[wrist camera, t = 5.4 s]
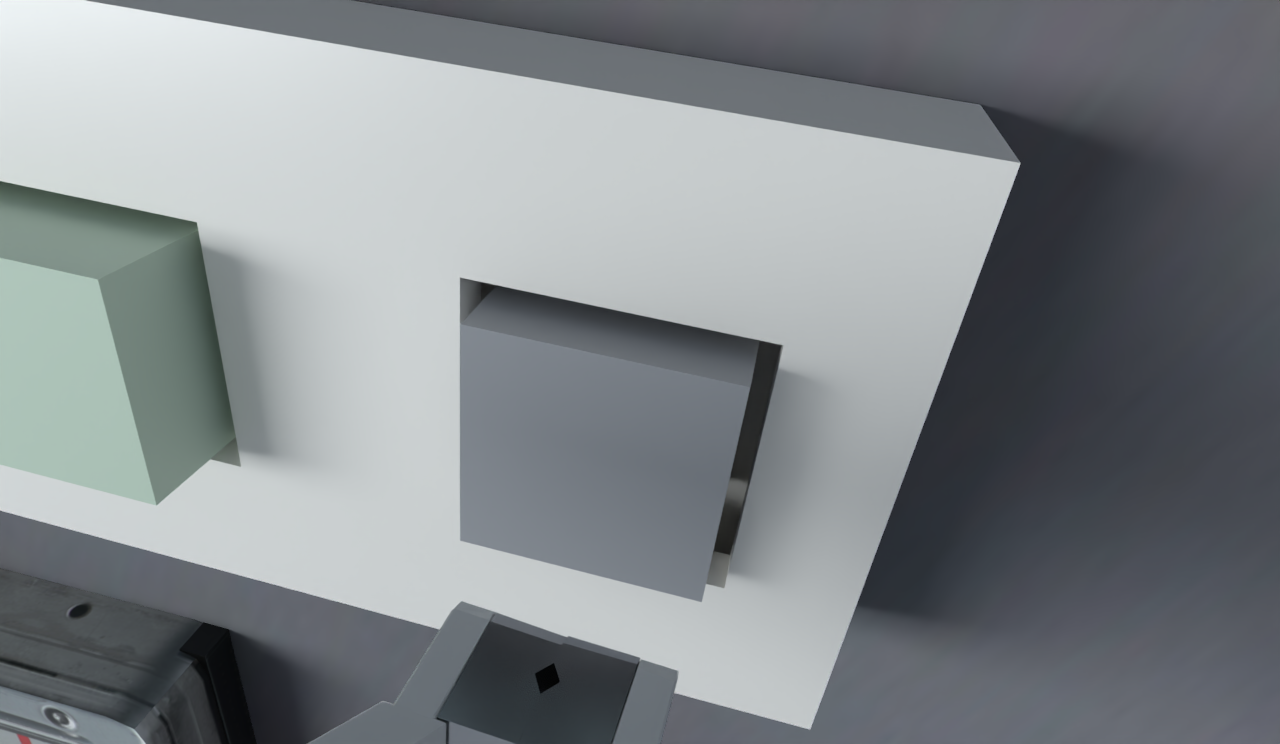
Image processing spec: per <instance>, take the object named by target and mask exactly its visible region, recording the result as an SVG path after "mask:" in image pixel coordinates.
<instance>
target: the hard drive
mask: <svg viewBox="0 0 1280 744" xmlns="http://www.w3.org/2000/svg"><path fill="white" fill-rule="evenodd" d="M184 671H185V672H184ZM183 672H184V673H183ZM177 679H178V680H177ZM170 687H171V688H170ZM164 694H165V695H164ZM157 702H158V703H157ZM150 710H151V711H150ZM144 717H145V718H144ZM137 725H138V726H137ZM128 726H129V727H128ZM0 744H257V743H256V739H255V735H254V731H253V727H252V723H251V719H250V715H249V711H248V707H247V703H246V699H245V695H244V691H243V687H242V683H241V679H240V675H239V671H238V667H237V663H236V659H235V654H234V650H233V646H232V642H231V638H230V634H229V630H228V629H226V628H222V627H218V626H214V625H211V624H207V623H201V622H198V621H196V620H193V619H189V618H186V617H182V616H178V615H174V614H170V613H167V612H163V611H159V610H155V609H152V608H148V607H144V606H140V605H137V604H133V603H129V602H125V601H122V600H118V599H114V598H110V597H107V596H103V595H99V594H95V593H92V592H88V591H84V590H80V589H77V588H73V587H69V586H65V585H61V584H58V583H54V582H50V581H46V580H43V579H39V578H35V577H31V576H28V575H24V574H20V573H16V572H13V571H9V570H5V569H1V568H0Z"/></svg>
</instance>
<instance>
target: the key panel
mask: <svg viewBox="0 0 1280 744" xmlns="http://www.w3.org/2000/svg"><path fill="white" fill-rule="evenodd" d="M1020 164H1021V163H1020V161H1019V160H1018V158H1017V157H1016V155H1015V154H1014V153H1013V151H1012V150H1011V148H1010V147H1009V145H1008V144H1007V142H1006V141H1005V140H1004V138H1003V137H1002V135H1001V134H1000V132H999V131H998V129H997V128H996V127H995V125H994V124H993V122H992V121H991V119H990V118H989V116H988V115H987V114H986V112H985V111H984V109H983V108H982V106H981V105H979V104H973V103H967V102H961V101H955V100H949V99H943V98H937V97H931V96H925V95H919V94H913V93H907V92H901V91H895V90H889V89H883V88H877V87H871V86H865V85H859V84H853V83H847V82H841V81H835V80H829V79H823V78H817V77H811V76H805V75H799V74H793V73H786V72H780V71H774V70H768V69H762V68H756V67H750V66H744V65H738V64H732V63H726V62H720V61H714V60H708V59H702V58H696V57H690V56H684V55H678V54H672V53H666V52H660V51H654V50H648V49H642V48H636V47H630V46H624V45H618V44H612V43H606V42H600V41H594V40H588V39H582V38H576V37H570V36H564V35H557V34H551V33H545V32H539V31H533V30H527V29H521V28H515V27H509V26H503V25H497V24H491V23H485V22H479V21H473V20H467V19H461V18H455V17H449V16H443V15H437V14H431V13H425V12H419V11H413V10H407V9H401V8H395V7H389V6H383V5H377V4H371V3H365V2H359V1H353V0H0V181H3V182H7V183H12V184H17V185H22V186H26V187H31V188H36V189H41V190H45V191H50V192H55V193H60V194H64V195H69V196H74V197H79V198H84V199H88V200H93V201H98V202H103V203H107V204H112V205H117V206H122V207H126V208H131V209H136V210H141V211H145V212H150V213H155V214H160V215H165V216H169V217H174V218H179V219H184V220H188V221H193V222H197V226H198V231H199V237H200V242H201V248H202V253H203V259H204V264H205V270H206V275H207V281H208V286H209V292H210V297H211V303H212V308H213V314H214V319H215V325H216V330H217V336H218V341H219V347H220V352H221V358H222V363H223V369H224V374H225V380H226V385H227V391H228V396H229V402H230V407H231V413H232V418H233V424H234V429H235V435H236V437H235V438H234V439H233V440H232V441H231V442H230V443H228V444H227V445H226V446H225V447H224V448H223V449H222V450H220V451H219V452H218V453H217V454H216V455H215V456H213V457H212V458H211V459H210V460H209V461H208V462H206V463H205V464H204V465H203V466H202V467H201V468H200V469H198V470H197V471H196V472H195V473H194V474H193V475H191V476H190V477H189V478H188V479H187V480H186V481H184V482H183V483H182V484H181V485H180V486H179V487H178V488H176V489H175V490H174V491H173V492H172V493H171V494H169V495H168V496H167V497H166V498H165V499H164V500H162V501H161V502H160V503H159V504H158V505H157V506H156V505H152V504H149V503H145V502H141V501H137V500H133V499H130V498H126V497H122V496H118V495H114V494H110V493H107V492H103V491H99V490H95V489H91V488H88V487H84V486H80V485H76V484H72V483H68V482H65V481H61V480H57V479H53V478H49V477H46V476H42V475H38V474H34V473H30V472H27V471H23V470H19V469H15V468H11V467H7V466H4V465H0V511H4V512H8V513H11V514H15V515H19V516H23V517H26V518H30V519H34V520H37V521H41V522H45V523H48V524H52V525H56V526H59V527H63V528H67V529H71V530H74V531H78V532H82V533H85V534H89V535H93V536H96V537H100V538H104V539H108V540H111V541H115V542H119V543H122V544H126V545H130V546H133V547H137V548H141V549H145V550H148V551H152V552H156V553H159V554H163V555H167V556H170V557H174V558H178V559H182V560H185V561H189V562H193V563H196V564H200V565H204V566H207V567H211V568H215V569H218V570H222V571H226V572H230V573H233V574H237V575H241V576H244V577H248V578H252V579H255V580H259V581H263V582H267V583H270V584H274V585H278V586H281V587H285V588H289V589H292V590H296V591H300V592H304V593H307V594H311V595H315V596H318V597H322V598H326V599H329V600H333V601H337V602H341V603H344V604H348V605H352V606H355V607H359V608H363V609H366V610H370V611H374V612H378V613H381V614H385V615H389V616H392V617H396V618H400V619H403V620H407V621H411V622H414V623H418V624H422V625H426V626H429V627H433V628H437V629H440V628H441V627H442V625H443V623H444V622H445V620H446V618H447V617H448V615H449V614H450V612H451V610H452V609H454V608H455V607H456V606H457V605H458V604H459V603H460V602H461V601H463V602H466V603H469V604H472V605H475V606H478V607H481V608H484V609H487V610H491V611H494V612H497V613H499V614H502V615H505V616H508V617H511V618H513V619H516V620H519V621H522V622H525V623H528V624H531V625H534V626H536V627H539V628H542V629H545V630H548V631H551V632H554V633H557V634H560V635H562V636H565V637H568V636H570V637H574V638H577V639H580V640H583V641H587V642H590V643H593V644H597V645H600V646H603V647H607V648H610V649H613V650H616V651H620V652H623V653H626V654H630V655H633V656H636V657H639V658H641V659H642V660H645V661H648V662H652V663H655V664H658V665H661V666H665V667H668V668H671V669H674V670H678V671H679V674H678V680H677V684H676V688H675V691H674V693H677V694H681V695H684V696H688V697H692V698H696V699H699V700H703V701H707V702H710V703H714V704H718V705H721V706H725V707H729V708H733V709H736V710H740V711H744V712H747V713H751V714H755V715H758V716H762V717H766V718H769V719H773V720H777V721H781V722H784V723H788V724H792V725H795V726H799V727H803V728H806V729H811V726H812V723H813V721H814V718H815V715H816V712H817V710H818V707H819V704H820V702H821V699H822V696H823V694H824V691H825V688H826V686H827V683H828V680H829V678H830V675H831V672H832V669H833V667H834V664H835V661H836V659H837V656H838V653H839V651H840V648H841V645H842V643H843V640H844V637H845V634H846V632H847V629H848V626H849V624H850V621H851V618H852V616H853V613H854V610H855V608H856V605H857V602H858V600H859V597H860V594H861V591H862V589H863V586H864V583H865V581H866V578H867V575H868V573H869V570H870V567H871V565H872V562H873V559H874V556H875V554H876V551H877V548H878V546H879V543H880V540H881V538H882V535H883V532H884V530H885V527H886V524H887V522H888V519H889V516H890V513H891V511H892V508H893V505H894V503H895V500H896V497H897V495H898V492H899V489H900V487H901V484H902V481H903V478H904V476H905V473H906V470H907V468H908V465H909V462H910V460H911V457H912V454H913V452H914V449H915V446H916V444H917V441H918V438H919V435H920V433H921V430H922V427H923V425H924V422H925V419H926V417H927V414H928V411H929V409H930V406H931V403H932V400H933V398H934V395H935V392H936V390H937V387H938V384H939V382H940V379H941V376H942V374H943V371H944V368H945V366H946V363H947V360H948V357H949V355H950V352H951V349H952V347H953V344H954V341H955V339H956V336H957V333H958V331H959V328H960V325H961V322H962V320H963V317H964V314H965V312H966V309H967V306H968V304H969V301H970V298H971V296H972V293H973V290H974V288H975V285H976V282H977V279H978V277H979V274H980V271H981V269H982V266H983V263H984V261H985V258H986V255H987V253H988V250H989V247H990V244H991V242H992V239H993V236H994V234H995V231H996V228H997V226H998V223H999V220H1000V218H1001V215H1002V212H1003V210H1004V207H1005V204H1006V201H1007V199H1008V196H1009V193H1010V191H1011V188H1012V185H1013V183H1014V180H1015V177H1016V175H1017V172H1018V169H1019V166H1020ZM496 285H498V286H503V287H508V288H512V289H517V290H522V291H527V292H531V293H536V294H541V295H546V296H550V297H555V298H560V299H565V300H570V301H574V302H579V303H584V304H589V305H593V306H598V307H603V308H608V309H612V310H617V311H622V312H627V313H632V314H636V315H641V316H646V317H651V318H655V319H660V320H665V321H670V322H674V323H679V324H684V325H689V326H693V327H698V328H703V329H708V330H713V331H717V332H722V333H727V334H732V335H736V336H741V337H746V338H751V339H755V340H760V342H759V347H758V352H757V357H756V362H755V367H754V372H753V377H752V382H751V387H750V391H749V396H748V400H747V404H746V409H745V413H744V418H743V422H742V426H741V431H740V435H739V440H738V444H737V449H736V453H735V457H734V462H733V466H732V471H731V475H730V480H729V484H728V488H727V493H726V497H725V502H724V506H723V510H722V515H721V519H720V524H719V528H718V533H717V537H716V541H715V546H714V550H713V555H712V559H711V564H710V568H709V572H708V577H707V581H706V586H705V590H704V594H703V599H702V602H699V601H695V600H691V599H687V598H683V597H679V596H675V595H671V594H668V593H664V592H660V591H656V590H652V589H648V588H644V587H640V586H636V585H632V584H628V583H624V582H620V581H616V580H613V579H609V578H605V577H601V576H597V575H593V574H589V573H585V572H581V571H577V570H573V569H569V568H565V567H561V566H558V565H554V564H550V563H546V562H542V561H538V560H534V559H530V558H526V557H522V556H518V555H514V554H510V553H506V552H503V551H499V550H495V549H491V548H487V547H483V546H479V545H475V544H471V543H467V542H463V541H460V324H461V323H462V322H463V321H464V320H465V319H466V317H467V316H468V315H469V314H470V313H471V312H472V311H473V310H474V309H475V308H476V307H477V306H478V305H479V304H480V302H481V301H482V300H483V299H484V298H485V297H486V296H487V295H488V294H489V293H490V292H491V291H492V290H493V288H494V287H495V286H496ZM641 659H640V661H641Z"/></svg>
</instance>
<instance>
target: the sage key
mask: <svg viewBox="0 0 1280 744" xmlns="http://www.w3.org/2000/svg"><path fill="white" fill-rule="evenodd" d="M235 437H236V435H235V429H234V424H233V418H232V413H231V407H230V402H229V396H228V391H227V385H226V380H225V374H224V369H223V363H222V358H221V352H220V347H219V341H218V336H217V330H216V325H215V319H214V314H213V308H212V303H211V297H210V292H209V286H208V281H207V275H206V270H205V264H204V259H203V253H202V248H201V242H200V237H199V231H198V226H197V222H193V221H188V220H184V219H179V218H174V217H169V216H165V215H160V214H155V213H150V212H145V211H141V210H136V209H131V208H126V207H122V206H117V205H112V204H107V203H103V202H98V201H93V200H88V199H84V198H79V197H74V196H69V195H64V194H60V193H55V192H50V191H45V190H41V189H36V188H31V187H26V186H22V185H17V184H12V183H7V182H3V181H0V465H4V466H7V467H11V468H15V469H19V470H23V471H27V472H30V473H34V474H38V475H42V476H46V477H49V478H53V479H57V480H61V481H65V482H68V483H72V484H76V485H80V486H84V487H88V488H91V489H95V490H99V491H103V492H107V493H110V494H114V495H118V496H122V497H126V498H130V499H133V500H137V501H141V502H145V503H149V504H152V505H156V506H157V505H158V504H159V503H160V502H161V501H162V500H164V499H165V498H166V497H167V496H168V495H169V494H171V493H172V492H173V491H174V490H175V489H176V488H178V487H179V486H180V485H181V484H182V483H183V482H184V481H186V480H187V479H188V478H189V477H190V476H191V475H193V474H194V473H195V472H196V471H197V470H198V469H200V468H201V467H202V466H203V465H204V464H205V463H206V462H208V461H209V460H210V459H211V458H212V457H213V456H215V455H216V454H217V453H218V452H219V451H220V450H222V449H223V448H224V447H225V446H226V445H227V444H228V443H230V442H231V441H232V440H233V439H234V438H235Z"/></svg>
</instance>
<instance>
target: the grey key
mask: <svg viewBox="0 0 1280 744" xmlns="http://www.w3.org/2000/svg"><path fill="white" fill-rule="evenodd" d="M759 342H760V340H755V339H751V338H746V337H741V336H736V335H732V334H727V333H722V332H717V331H713V330H708V329H703V328H698V327H693V326H689V325H684V324H679V323H674V322H670V321H665V320H660V319H655V318H651V317H646V316H641V315H636V314H632V313H627V312H622V311H617V310H612V309H608V308H603V307H598V306H593V305H589V304H584V303H579V302H574V301H570V300H565V299H560V298H555V297H550V296H546V295H541V294H536V293H531V292H527V291H522V290H517V289H512V288H508V287H503V286H498V285H496V286H495V287H494V288H493V290H492V291H491V292H490V293H489V294H488V295H487V296H486V297H485V298H484V299H483V300H482V301H481V302H480V304H479V305H478V306H477V307H476V308H475V309H474V310H473V311H472V312H471V313H470V314H469V315H468V316H467V317H466V319H465V320H464V321H463V322H462V323H461V324H460V541H463V542H467V543H471V544H475V545H479V546H483V547H487V548H491V549H495V550H499V551H503V552H506V553H510V554H514V555H518V556H522V557H526V558H530V559H534V560H538V561H542V562H546V563H550V564H554V565H558V566H561V567H565V568H569V569H573V570H577V571H581V572H585V573H589V574H593V575H597V576H601V577H605V578H609V579H613V580H616V581H620V582H624V583H628V584H632V585H636V586H640V587H644V588H648V589H652V590H656V591H660V592H664V593H668V594H671V595H675V596H679V597H683V598H687V599H691V600H695V601H699V602H702V599H703V594H704V590H705V586H706V581H707V577H708V572H709V568H710V564H711V559H712V555H713V550H714V546H715V541H716V537H717V533H718V528H719V524H720V519H721V515H722V510H723V506H724V502H725V497H726V493H727V488H728V484H729V480H730V475H731V471H732V466H733V462H734V457H735V453H736V449H737V444H738V440H739V435H740V431H741V426H742V422H743V418H744V413H745V409H746V404H747V400H748V396H749V391H750V387H751V382H752V377H753V372H754V367H755V362H756V357H757V352H758V347H759Z"/></svg>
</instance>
